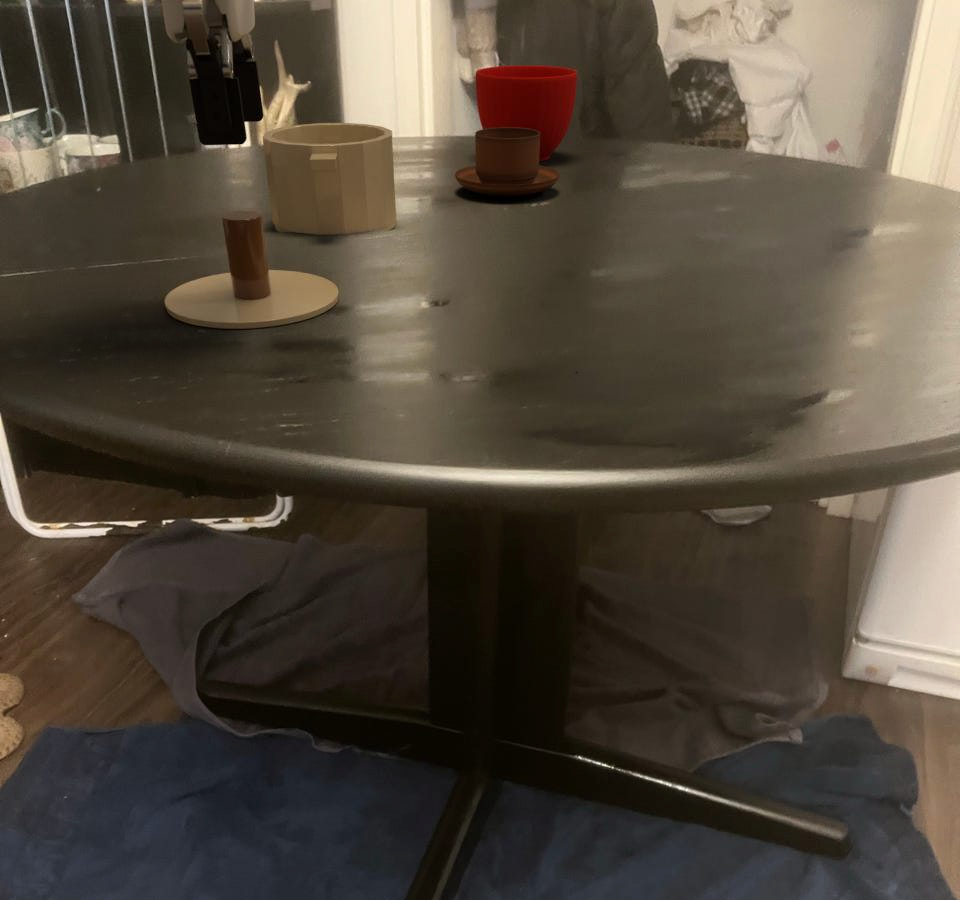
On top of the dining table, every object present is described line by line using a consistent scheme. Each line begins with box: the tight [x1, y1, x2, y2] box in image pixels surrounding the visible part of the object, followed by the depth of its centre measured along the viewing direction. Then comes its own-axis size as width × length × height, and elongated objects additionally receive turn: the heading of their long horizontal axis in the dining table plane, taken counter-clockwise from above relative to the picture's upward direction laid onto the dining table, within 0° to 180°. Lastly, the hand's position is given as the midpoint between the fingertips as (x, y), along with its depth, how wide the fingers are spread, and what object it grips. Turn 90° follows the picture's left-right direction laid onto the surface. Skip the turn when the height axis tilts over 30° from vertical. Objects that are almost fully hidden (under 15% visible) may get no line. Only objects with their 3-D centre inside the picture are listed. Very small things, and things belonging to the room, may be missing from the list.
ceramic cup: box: [475, 65, 578, 162], centre depth 128 cm, size 13×17×10 cm
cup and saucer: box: [454, 127, 560, 197], centre depth 112 cm, size 12×12×6 cm
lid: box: [164, 210, 340, 330], centre depth 77 cm, size 14×14×7 cm
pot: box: [262, 122, 397, 236], centre depth 99 cm, size 13×18×8 cm
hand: (234, 131), depth 72 cm, fingers open, 9 cm apart
